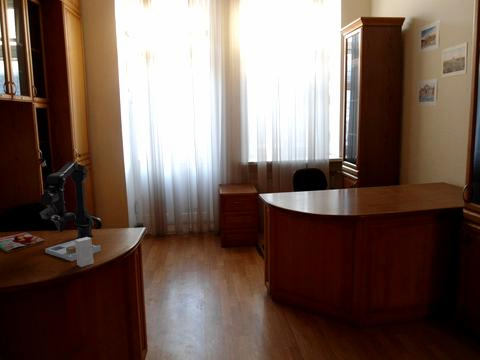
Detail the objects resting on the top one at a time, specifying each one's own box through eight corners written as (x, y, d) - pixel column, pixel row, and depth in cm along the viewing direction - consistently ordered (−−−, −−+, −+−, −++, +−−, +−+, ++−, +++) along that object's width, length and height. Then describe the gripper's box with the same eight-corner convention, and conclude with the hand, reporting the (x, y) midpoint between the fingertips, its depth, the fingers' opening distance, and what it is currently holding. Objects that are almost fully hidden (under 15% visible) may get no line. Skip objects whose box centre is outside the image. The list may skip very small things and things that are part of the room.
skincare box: (89, 261, 185) (87, 236, 183) (93, 263, 182) (91, 238, 180) (76, 265, 181) (74, 239, 179) (80, 267, 178) (78, 241, 176)
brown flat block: (74, 249, 195) (74, 244, 195) (80, 251, 193) (79, 246, 192) (66, 252, 192) (65, 247, 191) (72, 254, 189) (71, 249, 189)
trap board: (74, 243, 211) (74, 238, 210) (100, 251, 199) (100, 245, 198) (45, 252, 198) (44, 246, 197) (71, 261, 186) (71, 255, 185)
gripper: (30, 201, 190) (34, 233, 193) (52, 206, 180) (56, 239, 182) (52, 197, 199) (55, 227, 202) (75, 201, 189) (78, 233, 191)
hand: (60, 232), depth 194 cm, fingers closed
